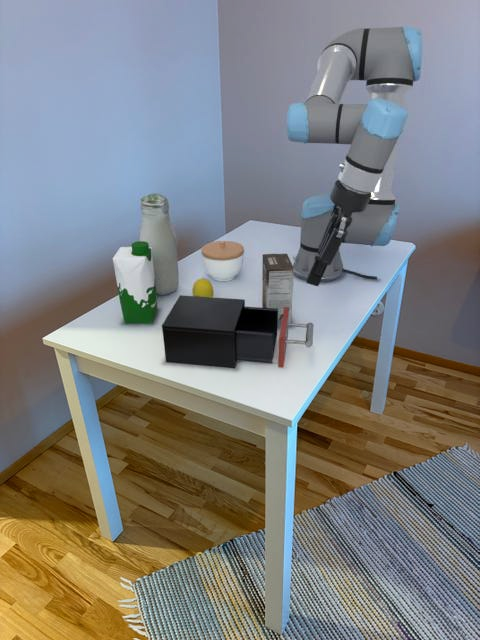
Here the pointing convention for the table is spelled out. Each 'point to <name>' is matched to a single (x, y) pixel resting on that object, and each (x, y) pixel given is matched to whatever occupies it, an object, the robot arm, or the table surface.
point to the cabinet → (202, 331)
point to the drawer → (265, 335)
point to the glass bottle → (160, 241)
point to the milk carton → (136, 282)
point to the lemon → (203, 288)
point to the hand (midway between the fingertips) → (312, 283)
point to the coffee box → (277, 283)
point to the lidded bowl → (222, 259)
